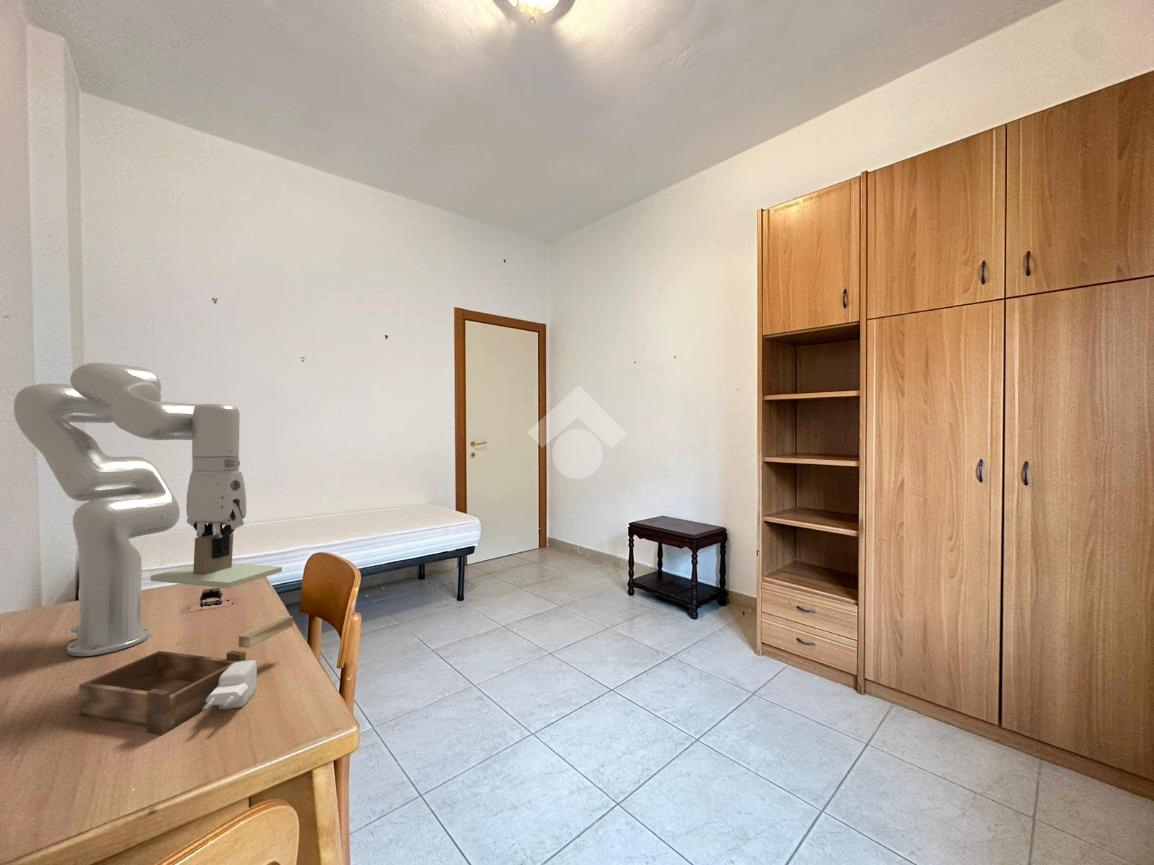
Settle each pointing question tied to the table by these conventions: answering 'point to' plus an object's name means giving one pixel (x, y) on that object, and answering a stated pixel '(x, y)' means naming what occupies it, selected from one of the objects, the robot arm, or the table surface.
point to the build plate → (211, 594)
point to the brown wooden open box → (155, 690)
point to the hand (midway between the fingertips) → (214, 555)
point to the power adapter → (234, 686)
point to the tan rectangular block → (265, 631)
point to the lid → (215, 568)
